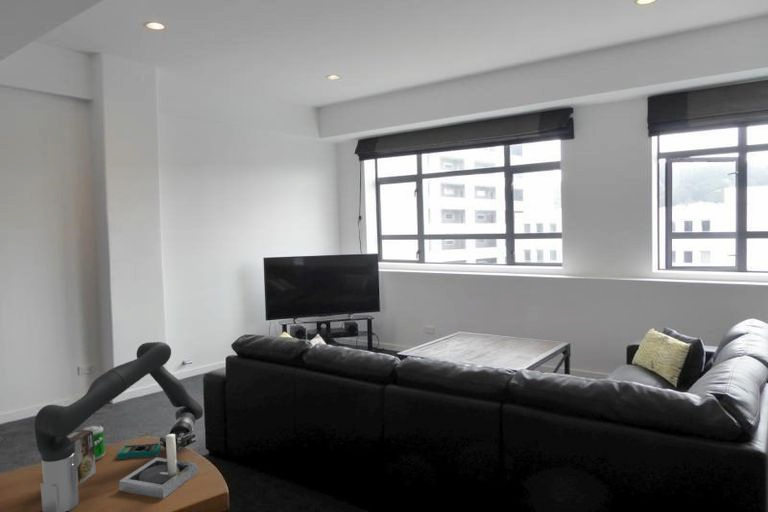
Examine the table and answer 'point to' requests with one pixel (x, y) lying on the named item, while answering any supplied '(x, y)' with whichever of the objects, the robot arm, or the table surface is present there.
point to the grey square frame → (158, 490)
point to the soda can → (97, 440)
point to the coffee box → (83, 454)
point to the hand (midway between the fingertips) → (173, 450)
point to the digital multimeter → (139, 451)
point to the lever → (164, 471)
